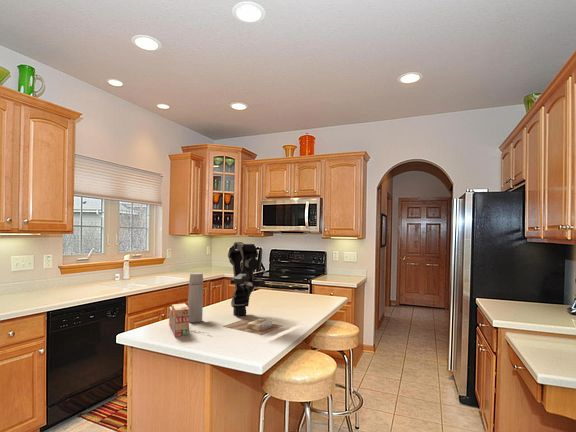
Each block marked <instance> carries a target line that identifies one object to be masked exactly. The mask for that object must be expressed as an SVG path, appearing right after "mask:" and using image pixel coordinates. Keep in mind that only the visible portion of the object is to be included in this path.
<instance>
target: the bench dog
mask: <svg viewBox="0 0 576 432" xmlns="http://www.w3.org/2000/svg"><path fill="white" fill-rule="evenodd" d="M266 320H267V321H264V322H261V330H262V331H264V330H267V329H269V328H272V324H273V319H266Z"/></svg>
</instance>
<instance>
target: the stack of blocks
mask: <svg viewBox="0 0 576 432" xmlns="http://www.w3.org/2000/svg"><path fill="white" fill-rule="evenodd" d="M189 312H190V309H189V305H188V306H187V304H186V303H176V304H171V306H169V307H168V316H169V317H168V320H169V321H168V323H169V324H168V325H169V328H170V330H171V332H172V333H173V336H174V338H177V337H178V338H179V337H183V336H189V335H190V322H189Z"/></svg>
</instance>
